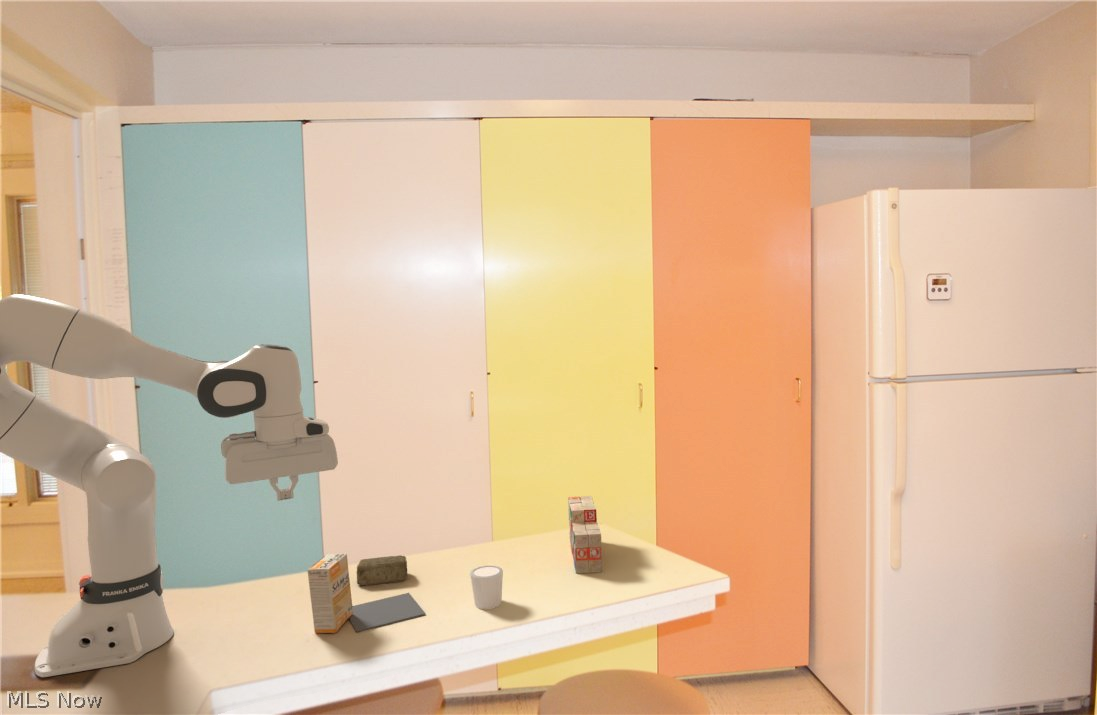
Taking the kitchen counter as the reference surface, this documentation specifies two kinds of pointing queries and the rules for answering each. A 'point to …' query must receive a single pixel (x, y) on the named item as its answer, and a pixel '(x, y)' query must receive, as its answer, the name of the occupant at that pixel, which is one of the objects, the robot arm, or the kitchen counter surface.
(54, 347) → the robot arm
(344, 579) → the supplement box
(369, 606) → the mat
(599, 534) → the stack of blocks
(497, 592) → the white cup
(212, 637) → the kitchen counter surface
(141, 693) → the kitchen counter surface
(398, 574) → the stone block
